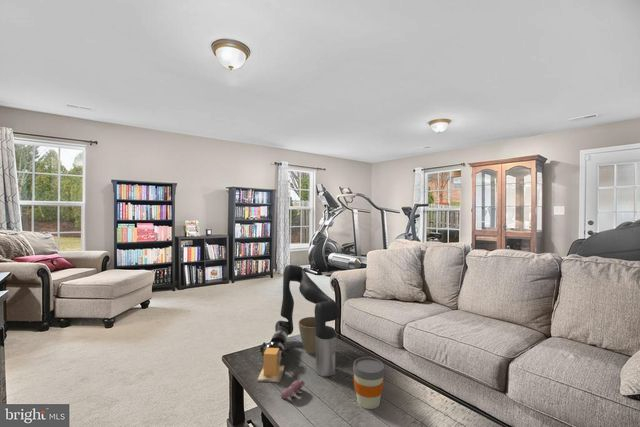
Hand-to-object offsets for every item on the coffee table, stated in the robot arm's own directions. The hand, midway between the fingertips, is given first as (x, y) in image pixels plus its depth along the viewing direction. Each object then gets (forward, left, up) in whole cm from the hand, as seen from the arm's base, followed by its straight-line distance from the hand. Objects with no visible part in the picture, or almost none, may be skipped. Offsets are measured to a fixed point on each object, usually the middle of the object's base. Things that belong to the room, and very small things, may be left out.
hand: (272, 355), depth 142 cm
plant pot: (-17, -22, -8) cm, 29 cm away
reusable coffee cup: (-43, +19, -8) cm, 48 cm away
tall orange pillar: (0, +2, -7) cm, 7 cm away
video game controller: (-12, +17, -8) cm, 22 cm away
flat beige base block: (0, +2, -8) cm, 8 cm away
